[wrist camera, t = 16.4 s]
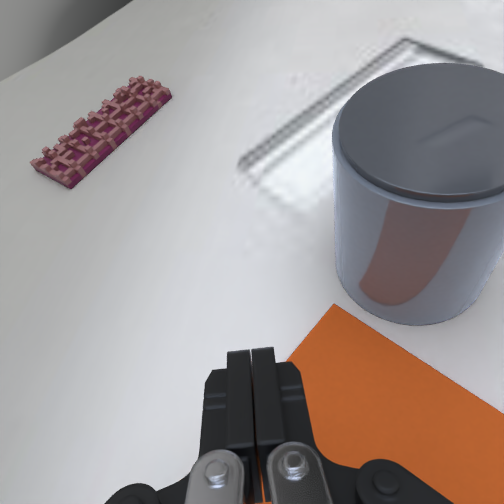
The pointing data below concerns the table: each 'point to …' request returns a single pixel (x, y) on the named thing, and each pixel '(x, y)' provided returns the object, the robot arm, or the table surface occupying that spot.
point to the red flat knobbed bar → (101, 131)
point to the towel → (397, 411)
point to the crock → (420, 190)
